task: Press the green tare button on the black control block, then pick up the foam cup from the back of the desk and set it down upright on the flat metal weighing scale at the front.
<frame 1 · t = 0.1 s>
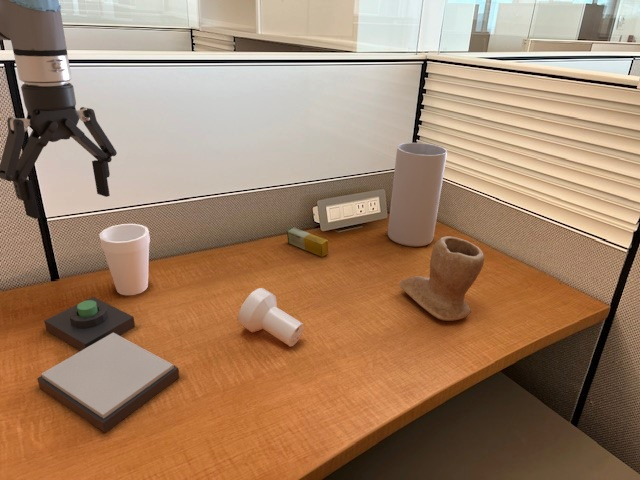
hand: (70, 205, 87), 22 cm above the table, tool pointing down, fingers open, 13 cm apart
cylinder vase: (409, 238, 132), on the table
medication box: (306, 250, 123), on the table
spotlight: (270, 334, 90), on the table
scale: (111, 382, 77), on the table
foam cup: (132, 288, 103), on the table
stone cup: (438, 304, 102), on the table
tare button: (87, 308, 87), point 5 cm above the table, slide at 0.1 cm
tare block: (91, 329, 89), on the table
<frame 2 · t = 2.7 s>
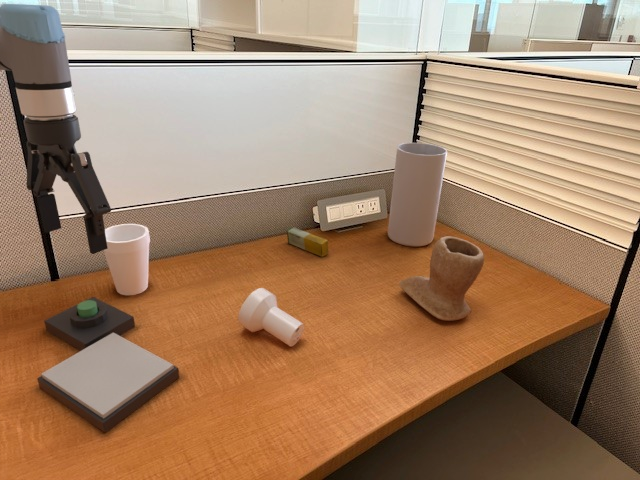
hand: (75, 240, 83), 18 cm above the table, tool pointing down, fingers open, 13 cm apart
nothing on the table moved.
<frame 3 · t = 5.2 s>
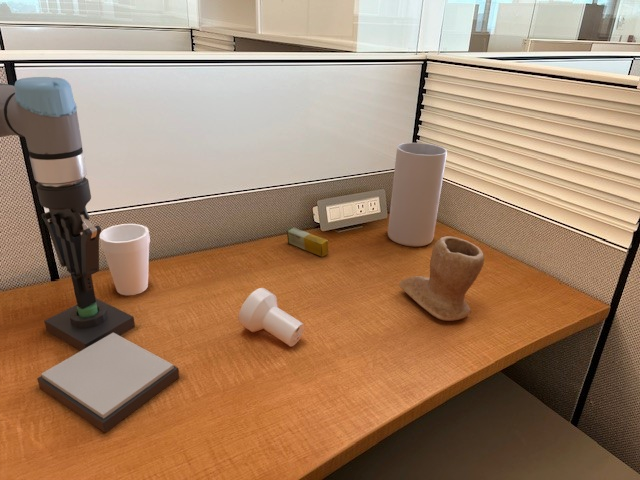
hand: (86, 304, 87), 6 cm above the table, tool pointing down, fingers closed
tare button: (87, 309, 87), point 4 cm above the table, slide at 0.1 cm, touching gripper
everything else where it was.
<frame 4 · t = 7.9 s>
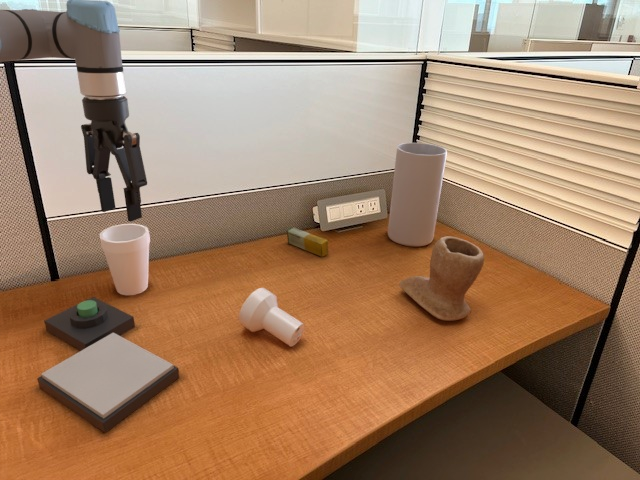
hand: (121, 214, 96), 17 cm above the table, tool pointing down, fingers open, 7 cm apart
tare button: (87, 308, 87), point 5 cm above the table, slide at 0.1 cm
everything else where it was.
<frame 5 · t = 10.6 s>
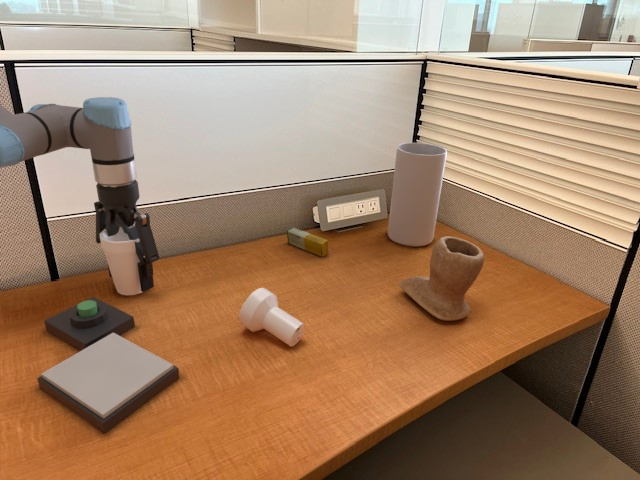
hand: (131, 281, 102), 2 cm above the table, tool pointing down, fingers closed on foam cup, 9 cm apart
foam cup: (132, 288, 103), on the table, touching gripper
everything else where it was.
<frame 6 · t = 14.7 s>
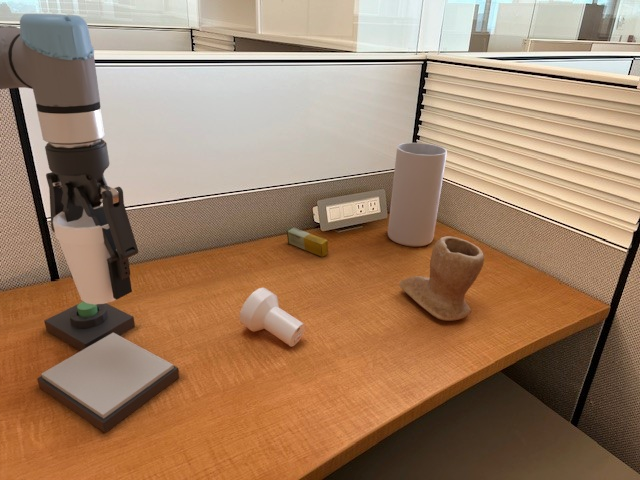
hand: (101, 284, 74), 16 cm above the table, tool pointing down, fingers closed on foam cup, 9 cm apart
foam cup: (103, 294, 75), point 14 cm above the table, touching gripper
everything else where it was.
when the fingers open (4 cm above the table, at t = 18.8 s): foam cup stays where it is, resting on scale.
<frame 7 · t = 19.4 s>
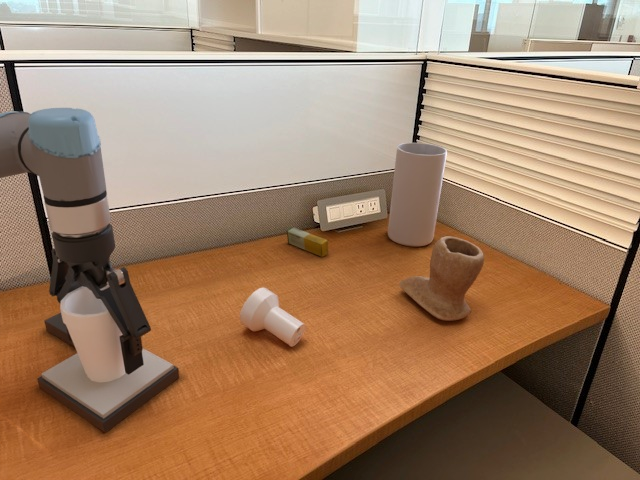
hand: (105, 352, 74), 6 cm above the table, tool pointing down, fingers open, 13 cm apart
foam cup: (108, 369, 76), point 3 cm above the table, touching scale
everything else where it was.
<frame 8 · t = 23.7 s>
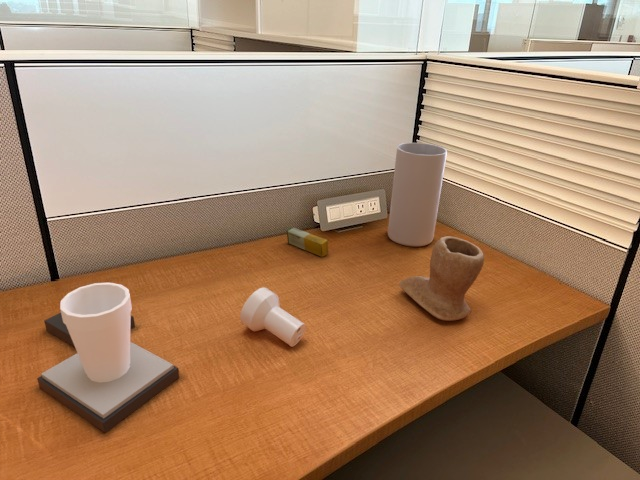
nothing on the table moved.
at the end: tare button pushed in 0.8 cm at the most during the clip, back to where it started at the end; tare button slide at 0.1 cm; foam cup inside the target area on the scale (0.0 cm from its centre), point 2.6 cm above the scale's base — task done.
